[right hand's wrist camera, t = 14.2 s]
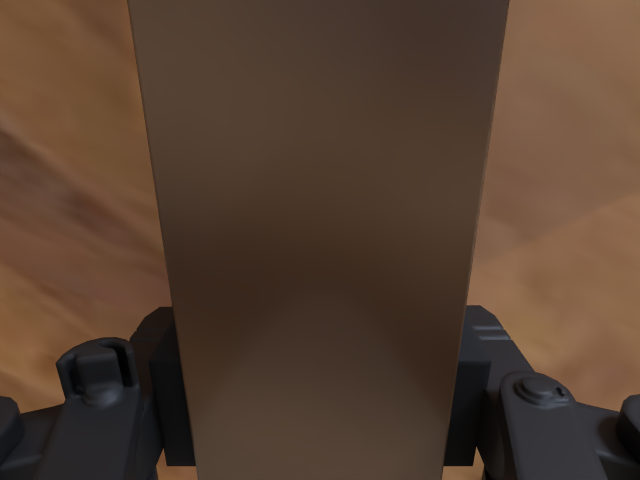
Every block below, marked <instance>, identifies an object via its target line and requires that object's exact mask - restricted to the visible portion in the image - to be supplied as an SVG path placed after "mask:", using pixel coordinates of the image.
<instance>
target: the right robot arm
mask: <svg viewBox="0 0 640 480" xmlns="http://www.w3.org/2000/svg"><path fill="white" fill-rule="evenodd" d="M56 367H57V371H58V374H59V378H60V381H61V385H62V388H63V392H64V396H65V402H64V404H60V405H57V406H54V407H49V408H45V409H40V410H35V411H31V412H26V413H22V414H20V411H19V408H18V405H17V403H16V402H15V401H14V400H13V399H11V398H9V397H3V396H0V480H158V475H157V469H156V464H157V462H158V460H159V457H160V455H161V452H162V450H163V448H164V452H165V458H166V463H167V466H196V462H195V456H194V449H193V442H192V435H191V429H190V422H189V415H188V408H187V401H186V395H185V388H184V381H183V374H182V368H181V361H180V354H179V347H178V341H177V334H176V327H175V320H174V314H173V307H159V308H158V309H156V310H155V311H153V312H152V313H150V314H149V315H147V316H146V317H145V318H144V319H143V321H142V322H141V324H140V325H139V326H138V328H137V331H135V332H134V333H133V335H132V336H131V338H130V341H127V340H125V339H121V338H117V337H107V338H99V339H94V340H90V341H87V342H84V343H82V344H80V345H77V346H75V347H73V348H72V349H70V350H69V351H67V352H66V353H64V354H63V355H62V356H61V357H60V359H59V360H58V361H57V362H56ZM476 446H477V449H478V451H479V453H480V456H481V458H482V461H483V463H484V469H483V475H482V480H640V394H638V395H632V396H629V397H628V398H627V399H625V400H624V401H623V404H622V407H621V410H620V412H617V411H613V410H608V409H604V408H599V407H595V406H590V405H586V404H582V403H579V402H576V401H575V399H574V397H573V396H572V394H571V393H570V391H569V390H568V389H567V388H566V387H564V386H563V385H562V384H561V383H559V382H558V381H556V380H554V379H552V378H550V377H548V376H546V375H544V374H540V373H536V372H535V371H534V370H533V369H532V367H531V366H530V364H529V363H528V361H527V360H526V359H525V357H524V356H523V354H522V353H521V352H520V350H519V349H518V347H517V346H516V345H515V343H514V342H513V340H510V336H509V335H508V333H507V332H506V331H505V330H503V326H502V325H501V324H500V322H499V321H498V319H497V318H496V317H495V315H493V314H492V313H490V312H489V311H487V310H486V309H484V308H483V307H481V306H480V305H466V311H465V318H464V325H463V332H462V339H461V346H460V353H459V360H458V367H457V374H456V381H455V388H454V395H453V402H452V409H451V416H450V423H449V430H448V438H447V445H446V452H445V459H444V466H473V462H474V456H475V451H476Z"/></svg>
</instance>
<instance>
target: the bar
mask: <svg viewBox="0 0 640 480" xmlns="http://www.w3.org/2000/svg"><path fill="white" fill-rule="evenodd" d="M127 2H128V9H129V16H130V23H131V29H132V36H133V43H134V50H135V56H136V63H137V70H138V77H139V84H140V90H141V97H142V104H143V111H144V117H145V124H146V131H147V138H148V144H149V151H150V158H151V165H152V171H153V178H154V185H155V192H156V199H157V205H158V212H159V219H160V226H161V232H162V239H163V246H164V253H165V259H166V266H167V273H168V280H169V286H170V293H171V300H172V307H173V314H174V320H175V327H176V334H177V341H178V347H179V354H180V361H181V368H182V374H183V381H184V388H185V395H186V401H187V408H188V415H189V422H190V429H191V435H192V442H193V449H194V456H195V462H196V469H197V476H198V480H442V473H443V466H444V459H445V452H446V445H447V438H448V430H449V423H450V416H451V409H452V402H453V395H454V388H455V381H456V374H457V367H458V360H459V353H460V346H461V339H462V332H463V325H464V318H465V311H466V303H467V296H468V289H469V282H470V275H471V268H472V261H473V254H474V247H475V240H476V233H477V226H478V219H479V212H480V205H481V198H482V191H483V184H484V176H485V169H486V162H487V155H488V148H489V141H490V134H491V127H492V120H493V113H494V106H495V99H496V92H497V85H498V78H499V71H500V64H501V57H502V49H503V42H504V35H505V28H506V21H507V14H508V7H509V0H127Z"/></svg>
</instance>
